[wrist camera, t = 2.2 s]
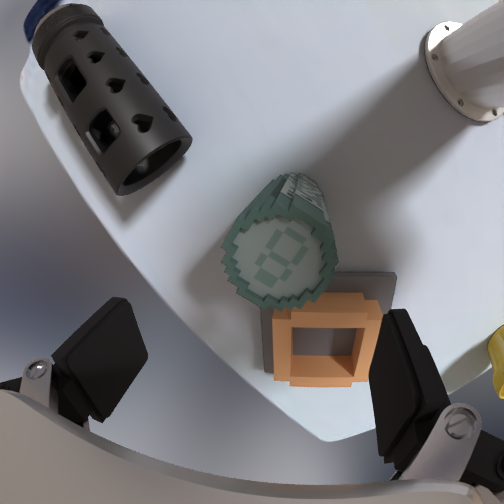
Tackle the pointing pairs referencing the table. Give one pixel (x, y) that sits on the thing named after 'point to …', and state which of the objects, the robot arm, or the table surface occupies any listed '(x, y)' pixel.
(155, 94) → the muzzle brake
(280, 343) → the socket block
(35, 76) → the table surface
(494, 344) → the plant pot
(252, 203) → the can
